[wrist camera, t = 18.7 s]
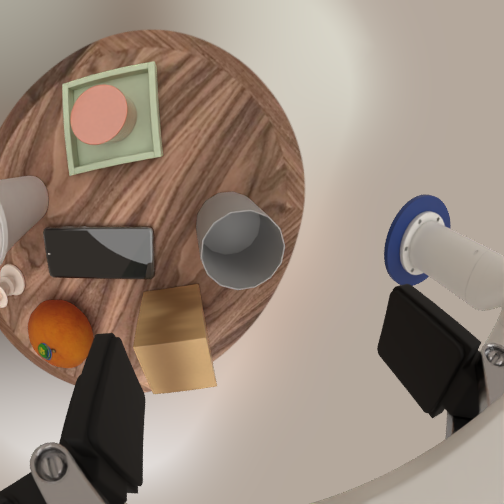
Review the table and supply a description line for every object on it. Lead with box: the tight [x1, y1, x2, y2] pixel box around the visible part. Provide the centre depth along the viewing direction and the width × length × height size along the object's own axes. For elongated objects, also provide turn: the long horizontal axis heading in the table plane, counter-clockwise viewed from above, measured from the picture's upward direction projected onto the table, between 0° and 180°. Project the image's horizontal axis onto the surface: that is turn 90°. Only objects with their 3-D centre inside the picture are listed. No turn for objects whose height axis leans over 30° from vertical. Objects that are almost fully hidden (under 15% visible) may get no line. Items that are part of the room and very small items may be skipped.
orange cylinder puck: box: [70, 84, 137, 145], centre depth 25 cm, size 6×6×6 cm
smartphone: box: [43, 226, 155, 279], centre depth 33 cm, size 7×1×16 cm
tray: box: [62, 62, 163, 176], centre depth 27 cm, size 12×12×3 cm
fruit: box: [28, 300, 94, 368], centre depth 32 cm, size 11×10×8 cm
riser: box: [133, 284, 217, 394], centre depth 34 cm, size 8×8×12 cm
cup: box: [196, 192, 285, 290], centre depth 32 cm, size 8×8×10 cm
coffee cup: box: [0, 176, 49, 265], centre depth 22 cm, size 10×10×15 cm
